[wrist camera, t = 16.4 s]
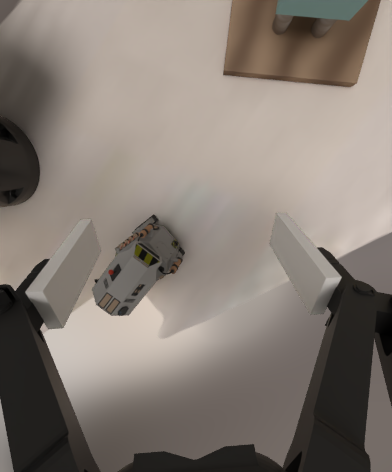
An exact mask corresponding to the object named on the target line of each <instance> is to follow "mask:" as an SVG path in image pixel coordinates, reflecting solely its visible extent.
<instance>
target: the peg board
mask: <svg viewBox="0 0 392 472" xmlns="http://www.w3.org/2000/svg"><path fill="white" fill-rule="evenodd" d="M380 1H381V0H368V1H367V2H366V3H365V4H364V6H363V7H362V8H361V9H360V10H359V11H358V12H357V13H356V14H355V15H354V16H353V17H352V18H351V19H350V20H349V21H347V20H336V19H325V18H314V17H303V16H292V15H281V14H276V8H277V3H278V0H233V1H232V9H231V17H230V25H229V33H228V41H227V49H226V57H225V65H224V74H223V75H232V76H242V77H253V78H263V79H273V80H284V81H294V82H304V83H315V84H325V85H336V86H346V87H351V86H353V85H355V84H356V83H357V81H358V77H359V74H360V70H361V67H362V63H363V60H364V56H365V53H366V49H367V46H368V42H369V39H370V36H371V32H372V29H373V25H374V22H375V18H376V15H377V11H378V8H379V4H380Z"/></svg>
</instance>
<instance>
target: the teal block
mask: <svg viewBox="0 0 392 472" xmlns="http://www.w3.org/2000/svg"><path fill="white" fill-rule="evenodd" d="M367 1H368V0H278V3H277V8H276V14H281V15H292V16H303V17H314V18H325V19H336V20H347V21H349V20H350V19H351V18H352V17H353V16H354V15H355V14H356V13H357V12H358V11H359V10H360V9H361V8H362V7H363V6H364V4H365V3H366V2H367Z"/></svg>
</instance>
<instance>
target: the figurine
mask: <svg viewBox="0 0 392 472" xmlns="http://www.w3.org/2000/svg"><path fill="white" fill-rule="evenodd" d="M157 220H158V219H157V218H156V217H155V215H153V216H151V217H150V218H149V219H147V220H146V221H145V222H144V223H142V224H141V225H140V226H139V227H137V228H136V229H135V231H134V232H132V233H133V235H132V236H131V237H129V239H127V240H125V242H123V243H121V244H120V245H119V246H118V247H116V248H115V250H116V255H115V258H114V259H113V261H112V262H111V264H110V265H109V266H108V268H107V269H106V270H105V272H104V273H103V275H102V276H101V277H100V279H98V280H97V279H96V280H95V282H96V284H95V286H94V287H93V288H92V291H93V295H94V298H95V302H96V305H98V306H99V307H100V308H101V309H103V310H104V311H106V312H107V313H108V314H110V315H111V316H113V315H115V316H116V315H119V316H123V315H129V314H130V313H131V312H132V311H133V309H134V308H135V307H136V306H137V304H138V303H139V302H140V301H141V300H142V298H143V297H144V296H145V295H146V293H147V292H148V291H149V290H150V288H151V287H152V286H153V285H154V284H155V282H156V281H157V280H159V279H161V278H163V277H164V276H165V275H166V274H170V273H172V274H174V273H175V272H176V271H177V269H178V267H179V265H180V264H181V262H182V259H181V258H182V256H183V255H184V254H185V252H184V251H183V250H182V248H180V249H179V243H178V242H177V240H176V239H174V238H173V237H172V235H171V234H170V233H169V232H168V230H167V229H166V228H165V227H164V226H160V225H155V224H154V223H155V222H156V221H157ZM169 271H170V273H167V272H169Z"/></svg>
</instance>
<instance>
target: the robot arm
mask: <svg viewBox="0 0 392 472" xmlns="http://www.w3.org/2000/svg"><path fill="white" fill-rule="evenodd" d="M38 180H39V164H38V159H37V156H36V153H35V150H34V148H33V146H32V144H31V142H30V141H29V139H28V138H27V137H26V135H25V134H24V133H23V132H22V131H21V130H20V129H19V128H18V127H17V126H16V125H15V124H14V123H12V122H11V121H9V120H7V119H6V118H4V117H1V116H0V207H6V206H11V205H16V204H19V203H22V202H24V201H26V200H27V199H28V198H29V197H30V196H31V195H32V194H33V193H34V191H35V189H36V187H37V184H38ZM270 246H271V247H272V249H273V251H274V253H275V254H276V256H277V258H278V260H279V261H280V263H281V265H282V267H283V268H284V270H285V272H286V274H287V275H288V277H289V279H290V281H291V282H292V284H293V286H294V287H295V289H296V291H297V293H298V295H299V296H300V298H301V300H302V302H303V303H304V305H305V307H306V309H307V310H308V312H309V314H310V315H312V314H314V315H315V314H324V312H325V310H326V308H327V307H328V308H329V310H330V311H331V315H330V317H329V318H328V320H327V322H326V324H325V326H327V327H326V330H325V334H324V337H323V340H322V344H321V347H320V350H319V354H318V357H317V360H316V364H315V367H314V371H313V374H312V378H311V381H310V384H309V388H308V391H307V394H306V398H305V401H304V405H303V408H302V411H301V415H300V418H299V421H298V425H297V429H296V432H295V435H294V438H293V441H292V444H291V446H290V449H289V451H288V453H287V456H286V459H285V462H284V465H283V468H282V467H281V466H280V465H279V464H277V463H276V462H275V461H273V460H272V459H270V458H268V457H267V456H264V455H262V454H260V453H257V452H255V448H254V444H252V445H239V446H226V447H223V448H221V449H219V450H217V451H214V452H212V453H210V454H208V455H206V456H204V457H202V458H199V459H197V460H192V459H189V458H185V457H182V456H178V455H174V454H171V453H168V452H164V451H163V452H151V453H138V454H134V461H133V462H132V463H130V464H128V465H127V466H125V467H123V468H122V469H121V470H119V471H118V472H370V459H369V455H368V454H367V453H366V452H365V448H364V442H365V431H366V419H367V409H368V398H369V387H370V376H371V365H372V355H373V344H374V339H375V342H376V347H377V350H378V354H379V358H380V362H381V366H382V370H383V374H384V378H385V382H386V385H387V390H388V394H389V398H390V402H391V406H392V295H390V294H384V293H379V292H376V290H375V289H374V288H373V287H371V286H370V285H369V284H366V283H364V282H362V281H358V280H355V279H354V278H353V277H352V276H351V275H350V274H349V273H348V272H347V271H346V269H345V268H344V267H343V266H342V265H341V264H339V262H338V261H337V260H336V259H335V257H334V256H333V255H332V254H331V253H330V252H329V251H327V250H325V249H324V248H322V247H320V248H316V246H315V245H314V244H313V243H312V242H311V241H310V239H309V238H308V237H307V236H306V235H305V234H304V232H303V231H302V230H301V229H300V228H299V226H298V225H297V224H296V223H295V222H294V221H293V219H292V218H291V217H290V216H289V215H288V214H287V213H276V216H275V221H274V226H273V230H272V235H271V239H270ZM100 252H101V248H100V245H99V241H98V238H97V235H96V231H95V228H94V225H93V222H92V219H80V221H79V222H78V223H77V225H76V226H75V227H74V229H73V230H72V231H71V233H70V234H69V235H68V236H67V238H66V239H65V240H64V242H63V243H62V244H61V246H60V247H59V248H58V250H57V251H56V252H55V253H54V255H53V256H52V257H51V259H44V260H43V261H42V262H40V263H39V264H37V265H36V266H35V267H34V269H33V270H32V271H31V273H30V274H29V275H28V276H27V278H26V279H25V280H24V281H23V282H22V283H21V285H20V286H19V287H18V288H17V290H16V291H14V289H13V288H12V287H11V286H10V285H6V284H4V285H0V399H1V404H2V409H3V415H4V421H5V426H6V431H7V436H8V442H9V447H10V452H11V458H12V464H13V469H14V472H100V470H99V467H98V466H97V464H96V462H95V460H94V458H93V456H92V454H91V452H90V449H89V447H88V444H87V442H86V440H85V437H84V434H83V432H82V430H81V427H80V425H79V422H78V420H77V417H76V415H75V412H74V410H73V407H72V405H71V402H70V400H69V398H68V395H67V393H66V390H65V388H64V385H63V383H62V380H61V378H60V375H59V373H58V370H57V369H56V366H55V363H54V361H53V358H52V356H51V354H50V351H49V348H48V346H47V344H46V341H45V339H44V336H43V334H42V332H41V330H40V328H41V326H42V324H43V322H44V323H45V325H46V326H47V328H48V329H56V328H64V326H65V324H66V322H67V320H68V318H69V315H70V313H71V311H72V309H73V307H74V305H75V303H76V301H77V299H78V297H79V295H80V293H81V291H82V289H83V287H84V285H85V283H86V281H87V279H88V277H89V275H90V273H91V270H92V268H93V266H94V264H95V262H96V260H97V258H98V256H99V254H100Z"/></svg>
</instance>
